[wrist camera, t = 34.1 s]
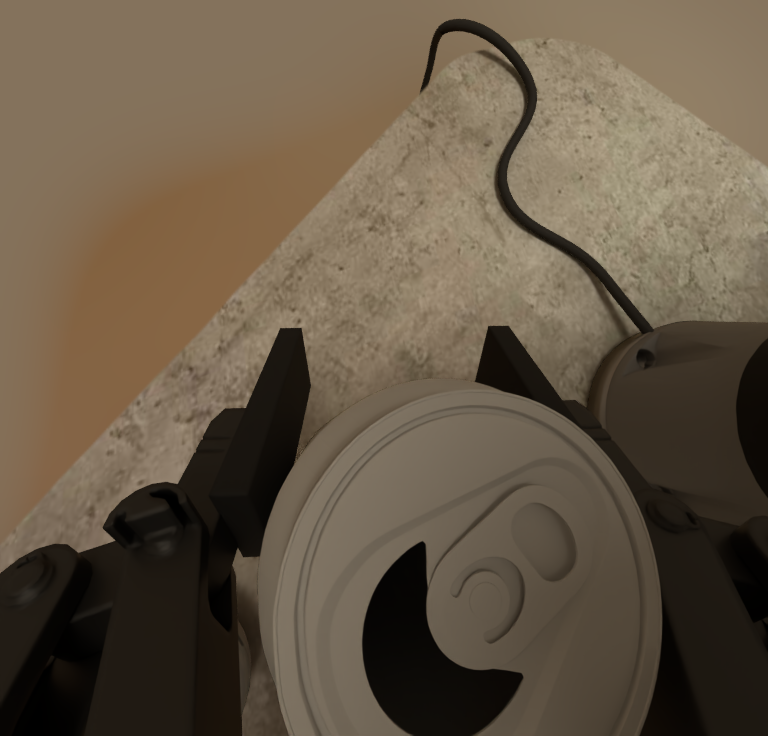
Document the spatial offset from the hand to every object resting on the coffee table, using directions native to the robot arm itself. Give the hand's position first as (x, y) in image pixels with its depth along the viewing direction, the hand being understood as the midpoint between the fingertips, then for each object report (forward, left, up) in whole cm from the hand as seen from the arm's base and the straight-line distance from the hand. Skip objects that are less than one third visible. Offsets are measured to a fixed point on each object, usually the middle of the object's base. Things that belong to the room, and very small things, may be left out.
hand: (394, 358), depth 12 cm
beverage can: (+5, -1, -4) cm, 7 cm away
